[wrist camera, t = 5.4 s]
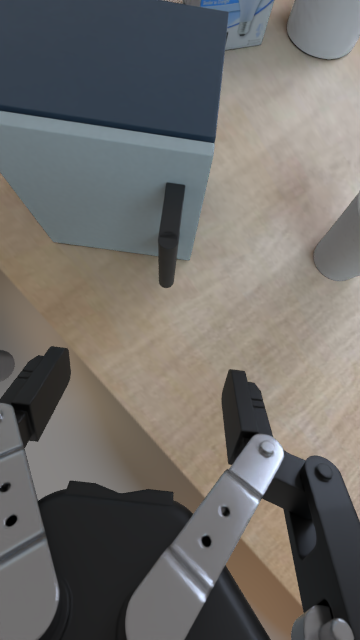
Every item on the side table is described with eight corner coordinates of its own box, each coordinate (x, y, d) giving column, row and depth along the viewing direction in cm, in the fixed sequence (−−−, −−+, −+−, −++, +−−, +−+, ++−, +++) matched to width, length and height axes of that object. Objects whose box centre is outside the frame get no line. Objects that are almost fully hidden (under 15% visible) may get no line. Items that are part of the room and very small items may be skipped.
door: (184, 303, 31) (205, 230, 16) (42, 285, 31) (-70, 192, 16) (190, 252, 33) (214, 142, 18) (54, 234, 32) (-38, 104, 17)
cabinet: (190, 251, 33) (215, 137, 18) (55, 232, 32) (-39, 98, 17) (200, 171, 35) (229, 11, 20) (75, 153, 35) (8, -26, 20)
